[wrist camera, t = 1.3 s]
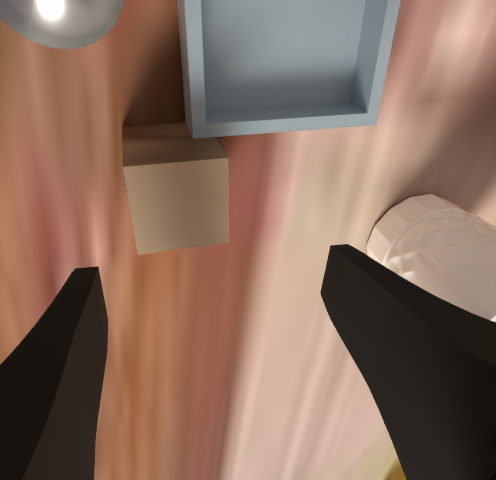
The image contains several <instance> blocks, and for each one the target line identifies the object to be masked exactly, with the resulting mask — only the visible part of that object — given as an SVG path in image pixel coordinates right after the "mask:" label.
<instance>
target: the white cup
mask: <svg viewBox="0 0 496 480" xmlns="http://www.w3.org/2000/svg"><path fill="white" fill-rule="evenodd" d="M367 256H369V257H371V258H372V259H374V260H375V261H377V262H379V263H380V264H382V265H383V266H385V267H387V268H388V269H390V270H391V271H393V272H395V273H396V274H398V275H400V276H401V277H403V278H405V279H406V280H408V281H410V282H412V283H413V284H415V285H417V286H419V287H420V288H422V289H424V290H426V291H428V292H430V293H431V294H433V295H435V296H437V297H439V298H441V299H443V300H445V301H447V302H449V303H451V304H454V305H456V306H458V307H460V308H462V309H464V310H466V311H469V312H471V313H473V314H476V315H478V316H480V317H483V318H486V319H488V320H491V321H493V322H496V227H495V226H494V225H492V224H490V223H488V222H486V221H485V220H483V219H481V218H480V217H478V216H476V215H474V214H472V213H470V212H466V211H464V210H463V209H461V208H460V207H458V206H456V205H455V204H453V203H452V202H450V201H448V200H446V199H444V198H441V197H438V196H436V195H433V194H426V195H420V196H413V197H409V198H408V199H406V200H404V201H402V202H401V203H399V204H397V205H396V206H394V207H392V208H391V209H389V210H388V212H387V213H386V214H385V215H384V216H383V217H382V218H381V219H380V220H379V221H378V223H377V224H376V225H375V226H374V228H373V231H372V233H371V235H370V238H369V240H368V243H367Z"/></svg>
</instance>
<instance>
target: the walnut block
mask: <svg viewBox="0 0 496 480" xmlns="http://www.w3.org/2000/svg"><path fill="white" fill-rule="evenodd" d="M122 148H123V171H124V176H125V182H126V188H127V194H128V200H129V206H130V212H131V218H132V224H133V229H134V235H135V241H136V247H137V253H138V255H139V254H147V253H154V252H161V251H169V250H176V249H183V248H191V247H198V246H205V245H213V244H220V243H227V242H229V175H228V157H227V155H226V153H225V152H224V150H223V148H222V147H221V145H220V143H219V142H218V140H217V138H216V137H208V138H195V139H193V137H192V135H191V132H190V130H189V128H188V126H187V124H186V122H179V123H163V124H147V125H131V126H122Z"/></svg>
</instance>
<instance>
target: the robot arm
mask: <svg viewBox="0 0 496 480" xmlns="http://www.w3.org/2000/svg"><path fill="white" fill-rule="evenodd" d="M320 294H321V296H322V299H323V302H324V304H325V307H326V309H327V312H328V314H329V317H330V319H331V321H332V323H333V325H334V326H335V328H336V330H337V332H338V333H339V335H340V337H341V339H342V341H343V342H344V344H345V346H346V347H347V349H348V351H349V353H350V354H351V356H352V358H353V360H354V361H355V363H356V365H357V366H358V368H359V370H360V372H361V373H362V375H363V377H364V379H365V381H366V383H367V385H368V387H369V389H370V391H371V393H372V395H373V398H374V400H375V402H376V404H377V407H378V409H379V411H380V413H381V416H382V418H383V420H384V423H385V425H386V428H387V430H388V433H389V435H390V438H391V440H392V442H393V445H394V447H395V450H396V453H397V455H398V458H399V461H400V463H401V466H402V469H403V471H404V474H405V477H406V479H407V480H496V322H493V321H491V320H488V319H486V318H483V317H480V316H478V315H476V314H473V313H471V312H469V311H466V310H464V309H462V308H460V307H458V306H456V305H454V304H451V303H449V302H447V301H445V300H443V299H441V298H439V297H437V296H435V295H433V294H431V293H430V292H428V291H426V290H424V289H422V288H420V287H419V286H417V285H415V284H413V283H412V282H410V281H408V280H406V279H405V278H403V277H401V276H400V275H398V274H396V273H395V272H393V271H391V270H390V269H388V268H387V267H385V266H383V265H382V264H380V263H379V262H377V261H375V260H374V259H372V258H371V257H369V256H367V255H366V254H364V253H362V252H361V251H359V250H357V249H356V248H354V247H352V246H350V245H348V244H344V245H332V246H330V251H329V255H328V260H327V265H326V270H325V274H324V279H323V284H322V288H321V293H320ZM107 344H108V317H107V311H106V306H105V301H104V295H103V290H102V284H101V279H100V273H99V268H98V267H88V268H77V269H75V270H74V271H73V272H72V273H71V275H70V276H69V278H68V279H67V281H66V282H65V284H64V286H63V287H62V289H61V290H60V292H59V293H58V294H57V296H56V297H55V299H54V300H53V302H52V303H51V304H50V306H49V307H48V308H47V310H46V311H45V312H44V314H43V315H42V317H41V318H40V319H39V321H38V322H37V323H36V324H35V326H34V327H33V328H32V329H31V330H30V332H29V333H28V334H27V335H26V336H25V338H24V339H23V340H22V341H21V342H20V344H19V345H18V346H17V347H16V348H15V349H14V351H13V352H12V353H11V354H10V355H9V356H8V357H7V358H6V359H5V360H4V361H3V362H2V364H1V365H0V480H94V465H95V441H96V429H97V420H98V413H99V406H100V399H101V392H102V385H103V378H104V371H105V364H106V357H107Z"/></svg>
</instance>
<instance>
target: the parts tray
mask: <svg viewBox="0 0 496 480" xmlns="http://www.w3.org/2000/svg"><path fill="white" fill-rule="evenodd" d="M400 1H401V0H177V7H178V20H179V34H180V48H181V62H182V76H183V90H184V103H185V117H186V124H187V126H188V128H189V130H190V132H191V135H192V137H193V139H195V138H208V137H222V136H235V135H248V134H261V133H275V132H288V131H301V130H315V129H328V128H341V127H355V126H368V125H376V123H377V118H378V113H379V108H380V103H381V98H382V92H383V87H384V82H385V77H386V72H387V67H388V62H389V57H390V52H391V47H392V42H393V37H394V32H395V26H396V21H397V16H398V11H399V6H400Z"/></svg>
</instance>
